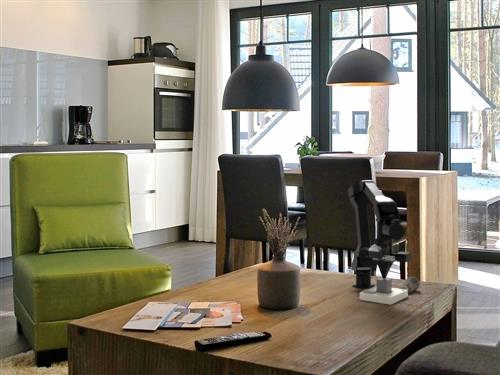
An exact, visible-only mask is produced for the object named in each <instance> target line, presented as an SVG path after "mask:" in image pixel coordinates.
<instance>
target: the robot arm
mask: <svg viewBox="0 0 500 375" xmlns="http://www.w3.org/2000/svg"><path fill="white" fill-rule="evenodd" d="M347 191H348V192H347V194H348V198H349V201H350V204H351V205H352V206H353V208H354V211H355V212H354V213H355V223H356V233H357V234H356V235H357V247H356V249H355V250H354V257H353V259H352V262H350V268H351V270H352V271H353V272H355V283H353V284H352V285H351V286H352V287H358V288H364V289H370V288H373V287H375V286H376V283H372V272H376V271H377V267H378V270H379V272H380V275H381V277H382V278H383V279H386V278H388V277H387V276H388V274H389V272H390V270H391V268H392V266H393V264H394V263H395V262H396V263H408V262H411V261H413V255H412V253H411V252H409V251H408V252H407V251H399V252H396V253H395V248H394V242H395V241H398V240H401V239H402V238H403V237H404V235H405V228H404V226H403V225H402V224H400V221H401V213H400V211H399V209H398V206H397V203H396V201H394V200H393V199H392V198H390V197H388V196H385V195H384V194H383V193H382V192H381V190H380V189H379V187H377V185H376V183H375V181H374V180H372V179H371V180H370V179H369V180H367V179H365V180H363V179H362V180H360V181H359V182H358V183H355V184H352V185H351V186H350V187H349V188H348V190H347ZM370 203H372V205H373V208H372V211H373V213H374V215H375V217H376V218H375V221H376V238H374V244H371V243H372V242H371V235H370V232H371V231H370V223H369V212H368V206H369V204H370Z"/></svg>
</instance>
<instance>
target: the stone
mask: <svg viewBox="0 0 500 375" xmlns="http://www.w3.org/2000/svg"><path fill="white" fill-rule="evenodd" d="M420 286H421V282H420V280H419V278H417V277H416V276H412V275H411V276H408V277H407V278H406V279H405V281H404V283H403V285H402V286H401V287H400V289H404V290H408V294H409V293H413V292H414V291H417V290H418V289H419V288H420Z"/></svg>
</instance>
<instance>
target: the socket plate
mask: <svg viewBox="0 0 500 375" xmlns="http://www.w3.org/2000/svg"><path fill="white" fill-rule="evenodd" d="M408 294H409V293H408V290H404V289H401V288H397V287H392V292H391V293H389V294H385V293H379V292H376V285H374V286H372V287H369V288H365V289H364V290H362V291H361V292H359V300H361V301H366V302H371V303H378V304H386V305H393V304H395V303H397V302H400V301H401V300H405V299H406V298H408V297H409V296H408Z"/></svg>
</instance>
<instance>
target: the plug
mask: <svg viewBox="0 0 500 375" xmlns="http://www.w3.org/2000/svg"><path fill="white" fill-rule="evenodd" d="M392 280H393V278H388V277H386V279H383V278H382V276H381V277H379V278H377V279H376V283H375V286H376V292H379V293H385V294H389V293H391V292H392V288H393V287H392V286H393V285H392V283H393V281H392Z"/></svg>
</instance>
